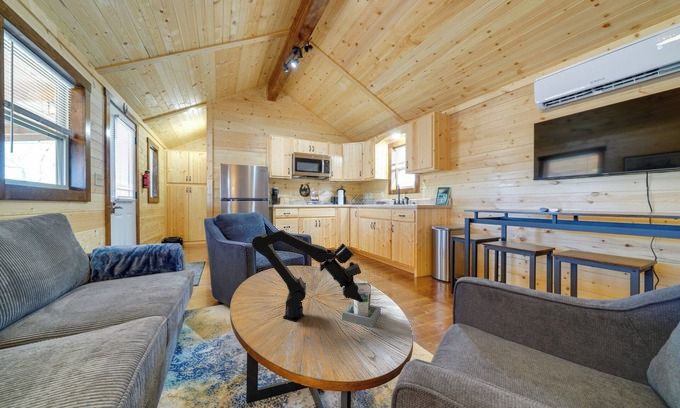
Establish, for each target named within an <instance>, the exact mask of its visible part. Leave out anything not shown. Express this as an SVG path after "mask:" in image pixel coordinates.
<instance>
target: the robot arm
mask: <svg viewBox="0 0 680 408" xmlns="http://www.w3.org/2000/svg"><path fill="white" fill-rule="evenodd" d="M251 241H252V242H251V246H252V248H253V249H254V250H255V251H256V252H257V253H258V254H259V255H262V256H263V257H265V259H267V261H268V262H269V264H270V265H271V266H272V268H273V269H274V270H275V271H276V273H277V274H278V275H279V277H280V278H281V279H282V281H283V282H284V283H285V285H286V287H287V290H288V294H287V297H286V301H285V311H284V312H285V313H284V315H283V317H282V318H283V319H286V320H289V321H291V322H297V321H299V320H300V319H301V318H302V317H303V316H304V314H305V313H304V306H303V301H304V300H305V299H306V296H307V285H306V284H307V283H306V282H304V280H303V278H302V277H301V276H300V277H299V278H298V277H296V276H295V275H294V274H293V273H292V271H291V270H290V269H289V268H288V267H287V265H286V263H284V261H283V260H282V259H281V257H280V255H278V253H277V252H276V250H275V248H274V245H273V244H275V243H277V242H280V241H281V242H282V243H285V244H287V245H289V246H291V247H293V248H295V249H297V250H299V251H301V252H304V253H306V255H308V256H309V257H310V258H311V259H313V260H314V261H316V262H317V263H319V271H320V272H323V270H325V271H327V273H329V275H330V276H331V277H332V279H333V280H334V281H335V282H337V283H338V284H339V286H340V288H342V294H343V296H344V298H346V299H351V300H353V301H354V300H356V301H359V302H363V299H362V297H361V296H360V294H359V293H358V286H357V284H356V283H355V282H356V281H354V277H355V276H357V275H361V274H362V271H361V267H360V265H359V264H358V263H355V262H353V261H350V262H349V263H348V266H347V267H345V266H342V265H341V264H346V263H347V262H348V261H349V260H350V259H352V257H353V256H355V254H354V252H353V251H352V250H351V249H350V248H349V247H348V246H346V244H344V242H343V243H341V244H340V245H339V246H338V248H336V249H335V250H333V249H327V247H325V246H323V245H320V244H315V243H309V242H307V241H305V240H304V239H301V238H299V237H297V236H295V235H293V234H291V233H290V232H287V231H286V230H284V229H279V230H277V231H274V232H270V233H267V234H266V233H260V234H258V235H256V236H255V237H254V238H252V240H251Z"/></svg>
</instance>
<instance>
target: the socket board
mask: <svg viewBox="0 0 680 408" xmlns="http://www.w3.org/2000/svg"><path fill="white" fill-rule="evenodd" d="M381 309H382V307H381V306H376V305H373V304H370V314H371V315H370V317H366V316H361V315H357V314H353V311H354V300H353V301H352V302H351V303H350V304H349V305H348V306H347V307H346V308H345V309H344V310H343V312H342V313H341V314H342V315H341V316H342V317H341V320H342V321H345V320H346V321H345V322H349V323H354V324H356V323H357V325H360V324H361V326H364V327H369V328H374V326H375V324H376V323H377V320H378V319H379V317H380V315H381V312H382V311H381Z"/></svg>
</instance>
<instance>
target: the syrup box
mask: <svg viewBox="0 0 680 408" xmlns="http://www.w3.org/2000/svg"><path fill="white" fill-rule="evenodd" d="M354 282H355V283H356V284H357V286H358V293H359V294H360V296H361V297H362V299H363V302H359V301H356V300H354V299H353V301H354V311H353V312H352V313H353V314H357V315H361V316H366V317H371V313H370V305H371V299H372V297H371V295H372V286H371V284H370V283H369V282H368V281H354Z"/></svg>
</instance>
